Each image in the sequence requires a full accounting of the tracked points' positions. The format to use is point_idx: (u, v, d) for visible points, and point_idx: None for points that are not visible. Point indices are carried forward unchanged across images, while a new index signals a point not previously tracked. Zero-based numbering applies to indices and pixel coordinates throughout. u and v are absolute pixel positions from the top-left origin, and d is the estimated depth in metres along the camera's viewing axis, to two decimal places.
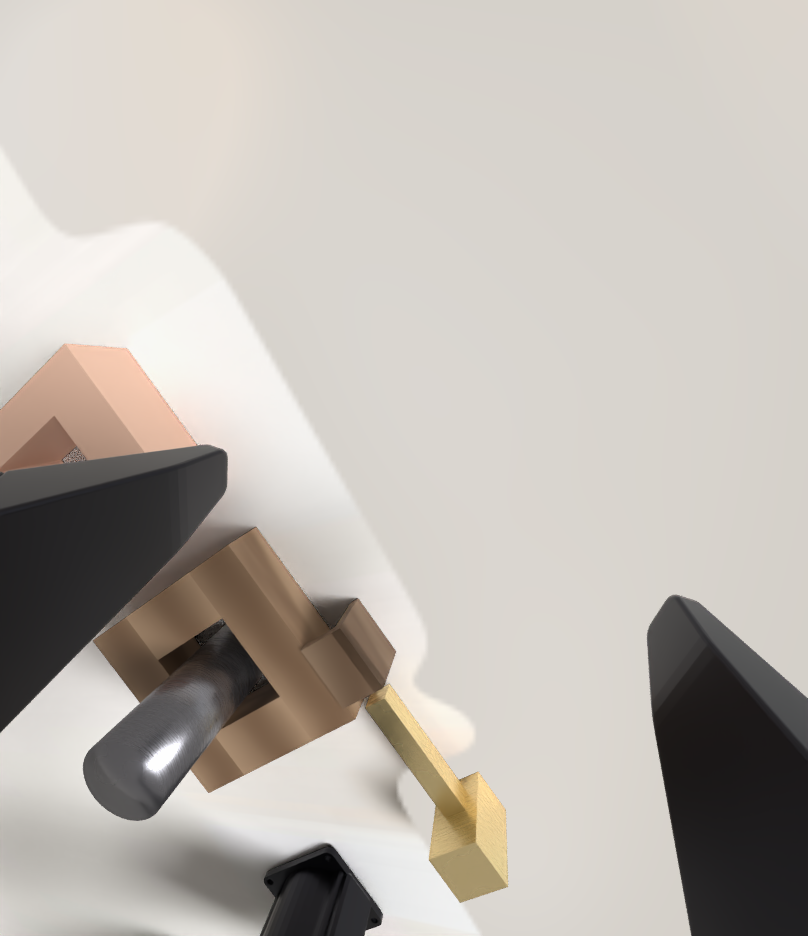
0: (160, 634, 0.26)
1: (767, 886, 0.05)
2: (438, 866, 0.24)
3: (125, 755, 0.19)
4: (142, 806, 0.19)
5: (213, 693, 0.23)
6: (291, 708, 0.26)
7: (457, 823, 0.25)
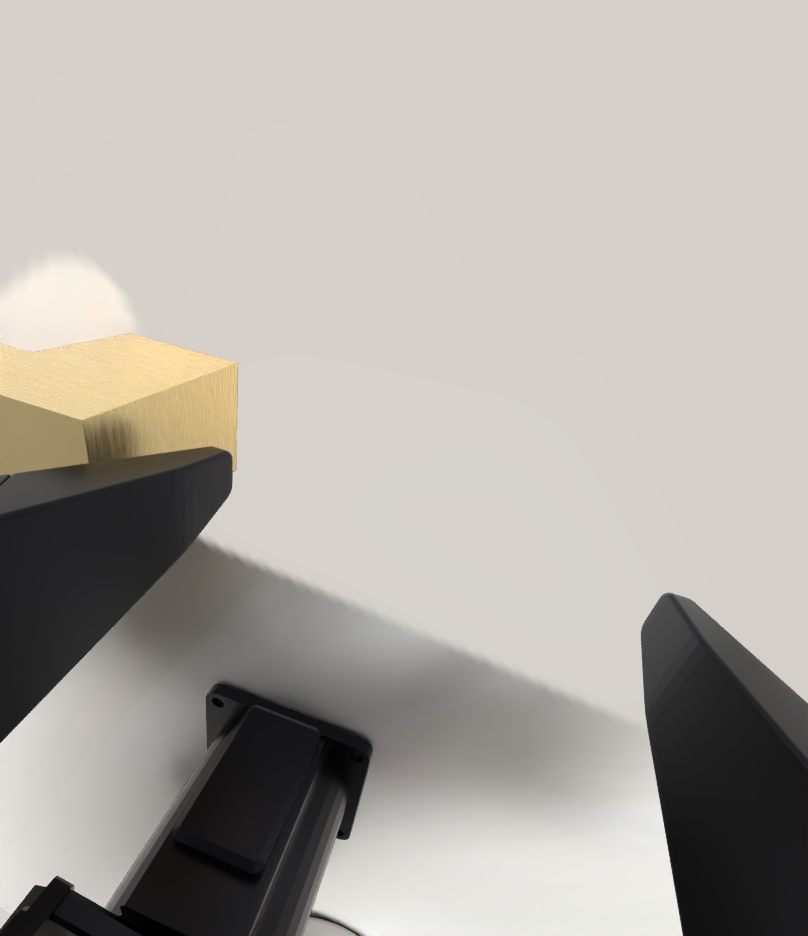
0: None
1: (756, 882, 0.05)
2: None
3: None
4: None
5: None
6: None
7: None
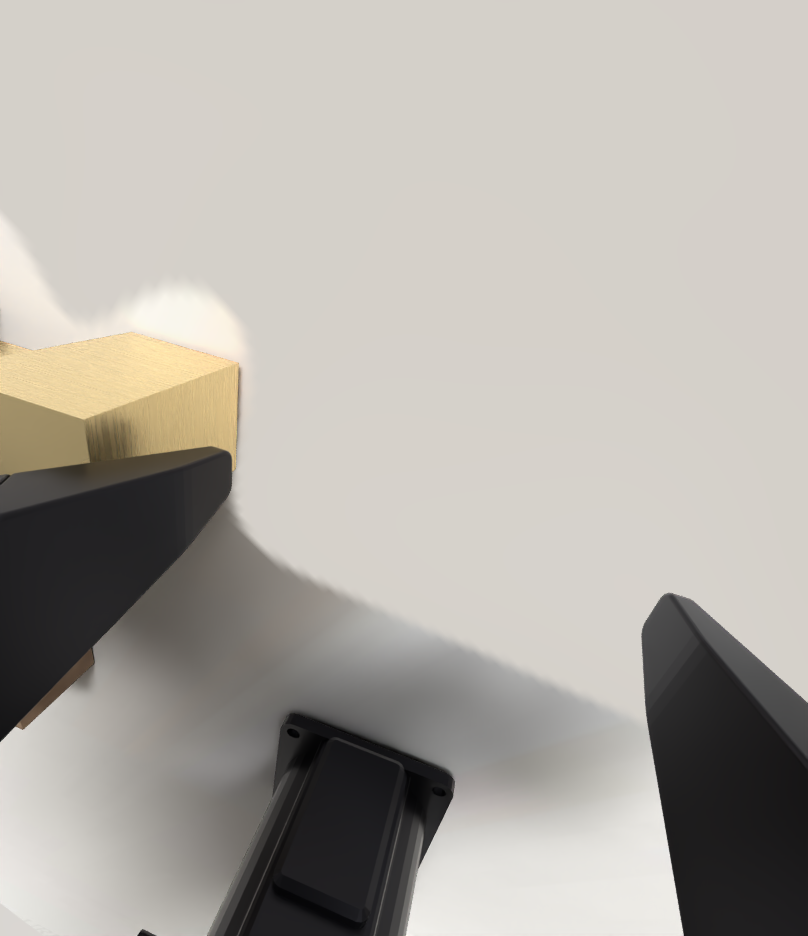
0: None
1: (757, 882, 0.05)
2: None
3: None
4: None
5: None
6: None
7: None
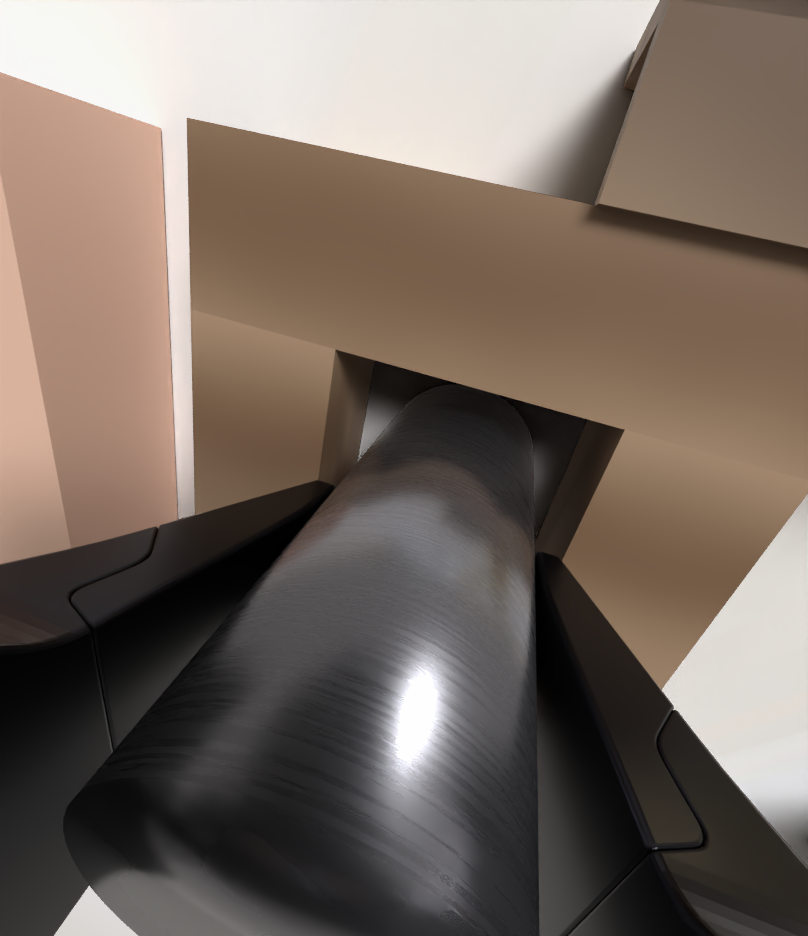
0: None
1: (546, 799, 0.05)
2: None
3: (169, 830, 0.03)
4: None
5: (433, 485, 0.06)
6: (682, 436, 0.08)
7: None
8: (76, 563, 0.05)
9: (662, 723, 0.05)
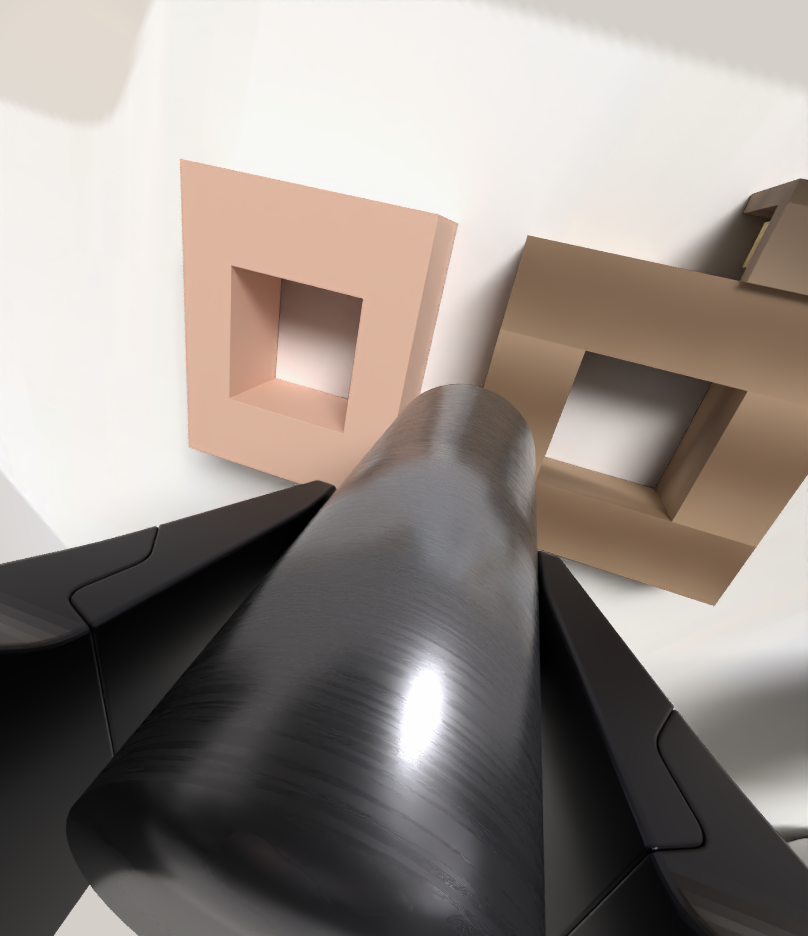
0: None
1: (546, 799, 0.05)
2: None
3: (172, 835, 0.03)
4: None
5: (436, 486, 0.06)
6: (779, 394, 0.15)
7: None
8: (76, 563, 0.05)
9: (662, 723, 0.05)
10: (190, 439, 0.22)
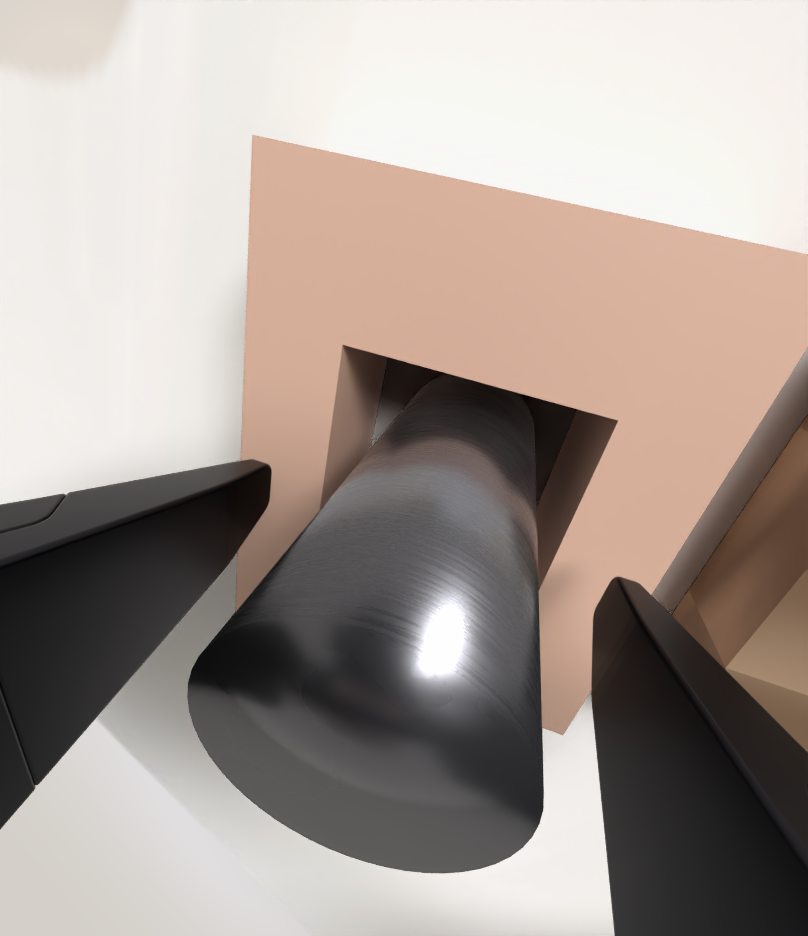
0: None
1: (672, 849, 0.05)
2: None
3: (277, 666, 0.04)
4: (477, 811, 0.05)
5: (453, 447, 0.08)
6: None
7: None
8: None
9: (807, 775, 0.04)
10: (238, 603, 0.13)
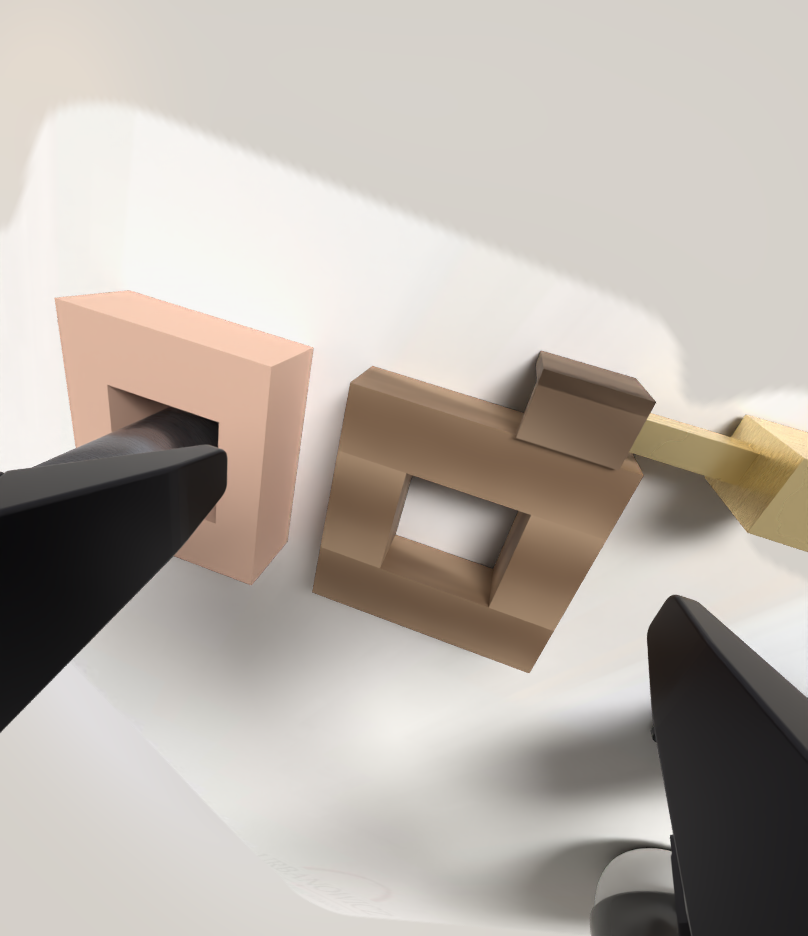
0: (363, 539, 0.22)
1: (767, 886, 0.05)
2: (768, 532, 0.15)
3: None
4: None
5: (135, 432, 0.19)
6: (554, 519, 0.19)
7: (759, 472, 0.16)
8: None
9: None
10: None
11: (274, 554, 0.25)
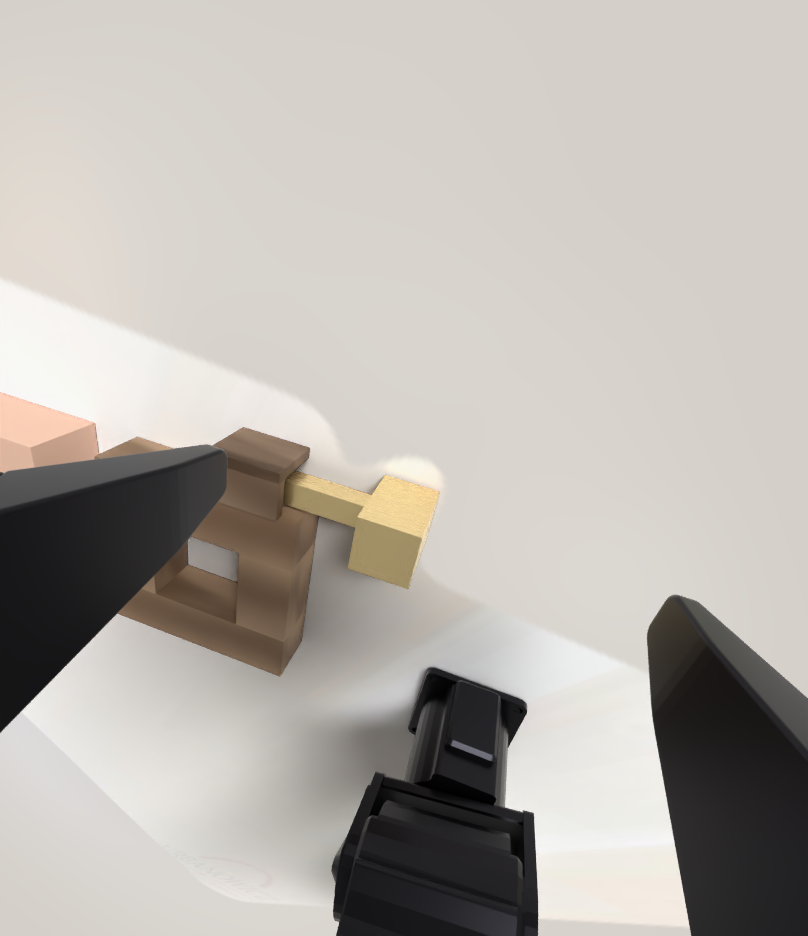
0: None
1: (767, 886, 0.05)
2: (359, 568, 0.21)
3: None
4: None
5: None
6: (253, 556, 0.24)
7: None
8: None
9: None
10: None
11: None
